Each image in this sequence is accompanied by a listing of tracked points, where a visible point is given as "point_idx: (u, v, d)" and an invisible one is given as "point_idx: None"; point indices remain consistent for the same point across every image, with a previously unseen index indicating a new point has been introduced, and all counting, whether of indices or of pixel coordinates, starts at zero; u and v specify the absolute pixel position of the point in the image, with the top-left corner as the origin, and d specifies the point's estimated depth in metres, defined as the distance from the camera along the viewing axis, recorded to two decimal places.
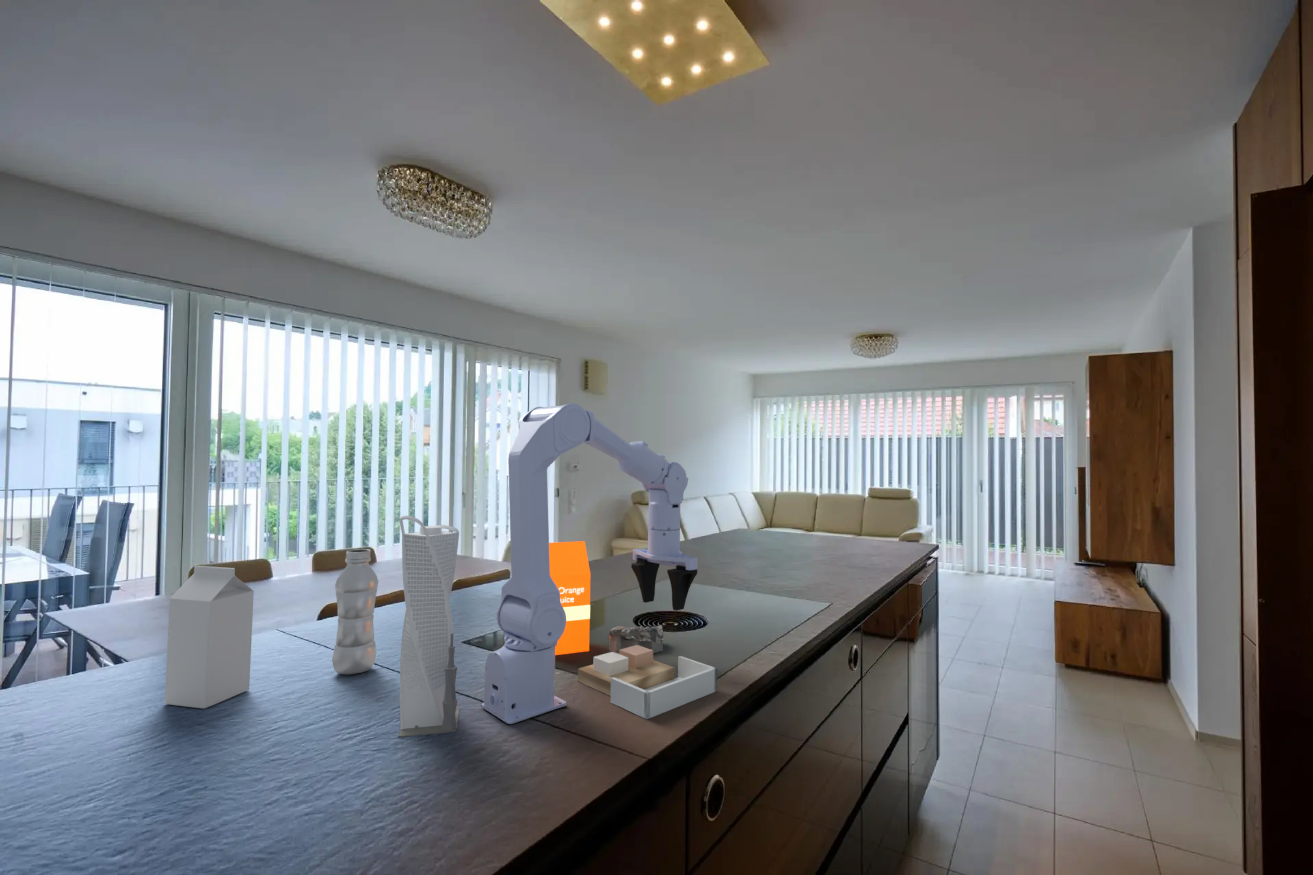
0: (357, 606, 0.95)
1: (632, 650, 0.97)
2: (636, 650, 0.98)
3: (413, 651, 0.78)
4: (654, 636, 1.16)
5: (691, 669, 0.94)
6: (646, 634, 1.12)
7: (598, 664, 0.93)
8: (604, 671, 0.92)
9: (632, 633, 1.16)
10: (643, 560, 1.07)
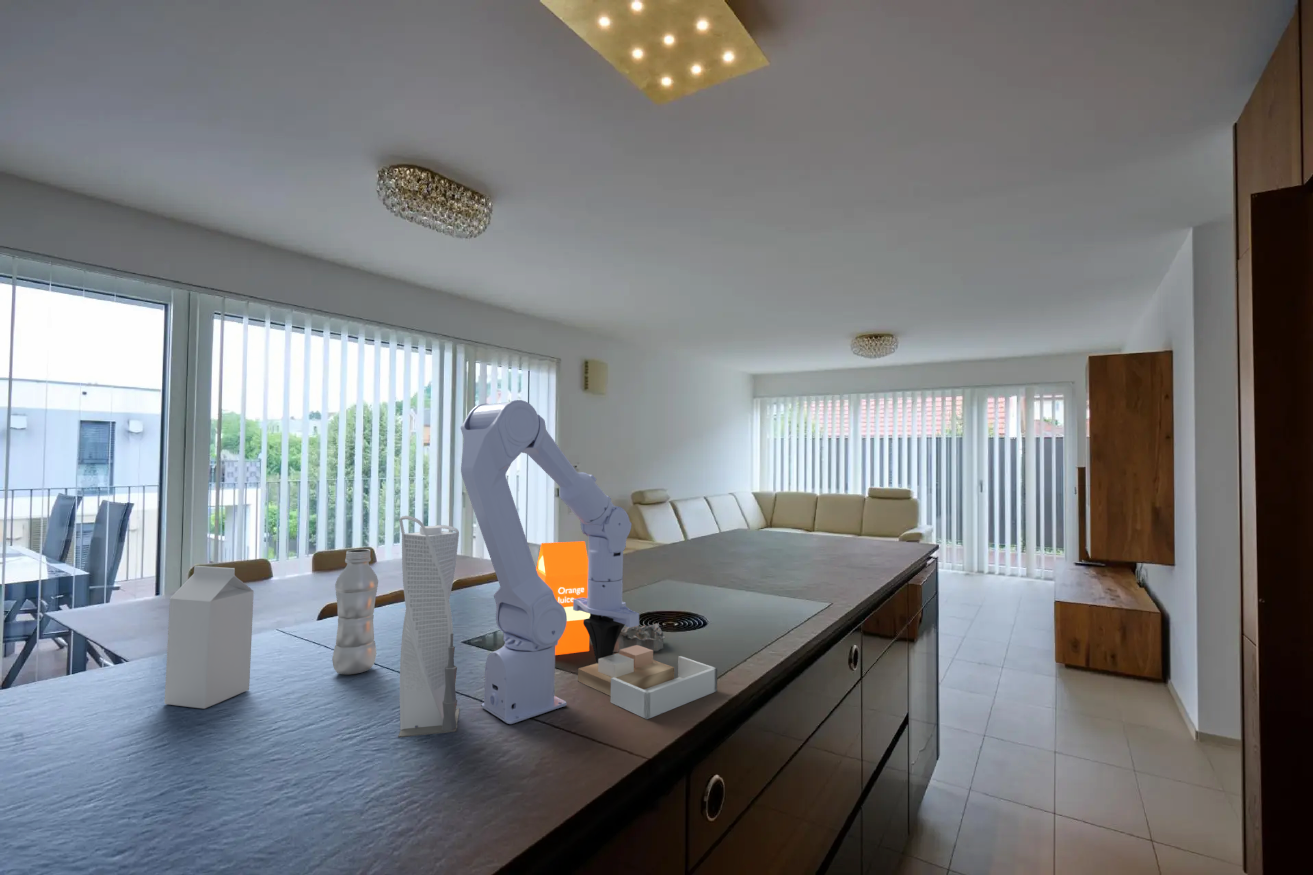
0: (357, 606, 0.95)
1: (632, 650, 0.97)
2: (636, 650, 0.98)
3: (413, 651, 0.78)
4: (650, 634, 1.17)
5: (691, 669, 0.94)
6: (645, 633, 1.13)
7: (603, 666, 0.92)
8: (609, 673, 0.91)
9: (629, 632, 1.16)
10: (583, 611, 0.98)
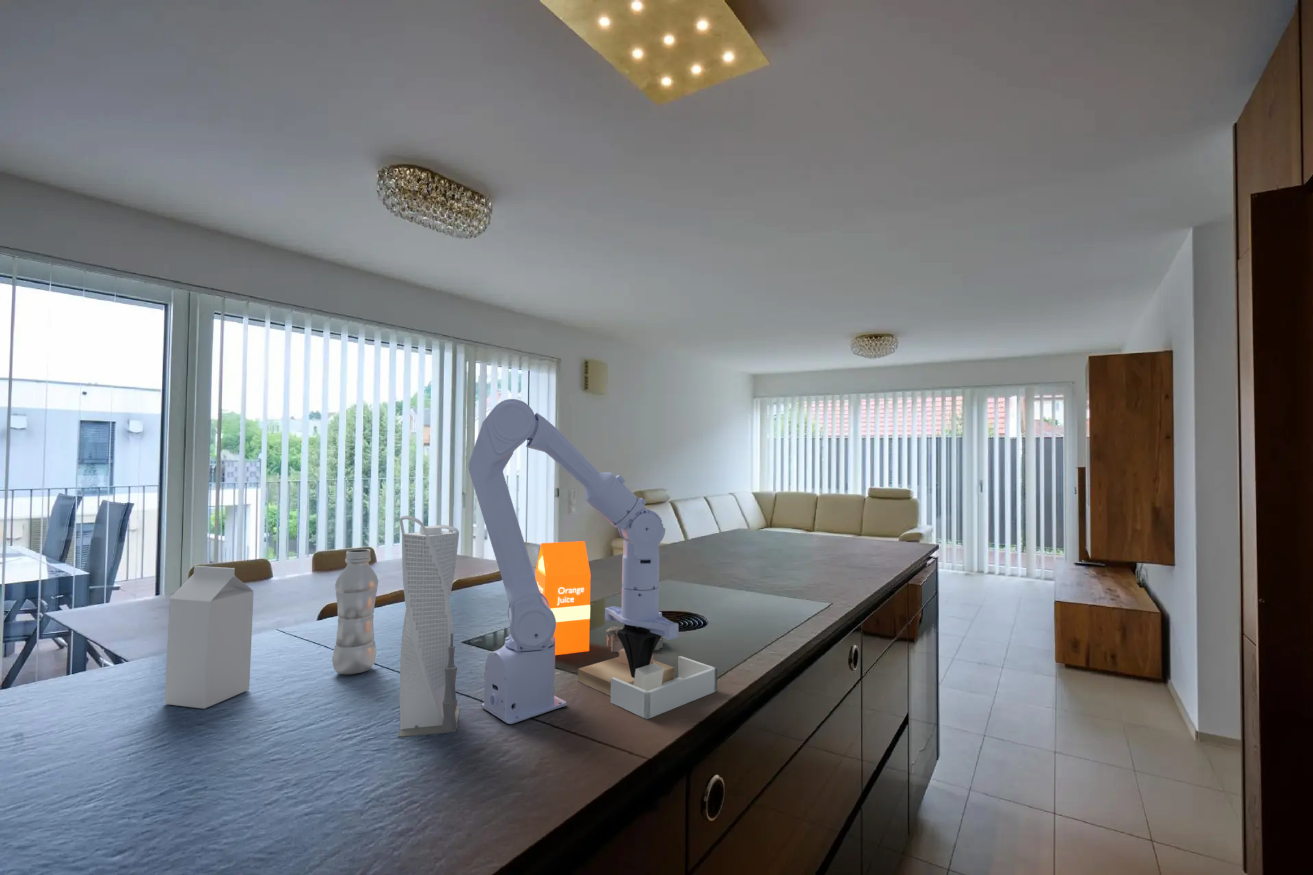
0: (357, 606, 0.95)
1: None
2: None
3: (413, 651, 0.78)
4: None
5: (691, 669, 0.94)
6: None
7: (639, 680, 0.86)
8: None
9: None
10: None
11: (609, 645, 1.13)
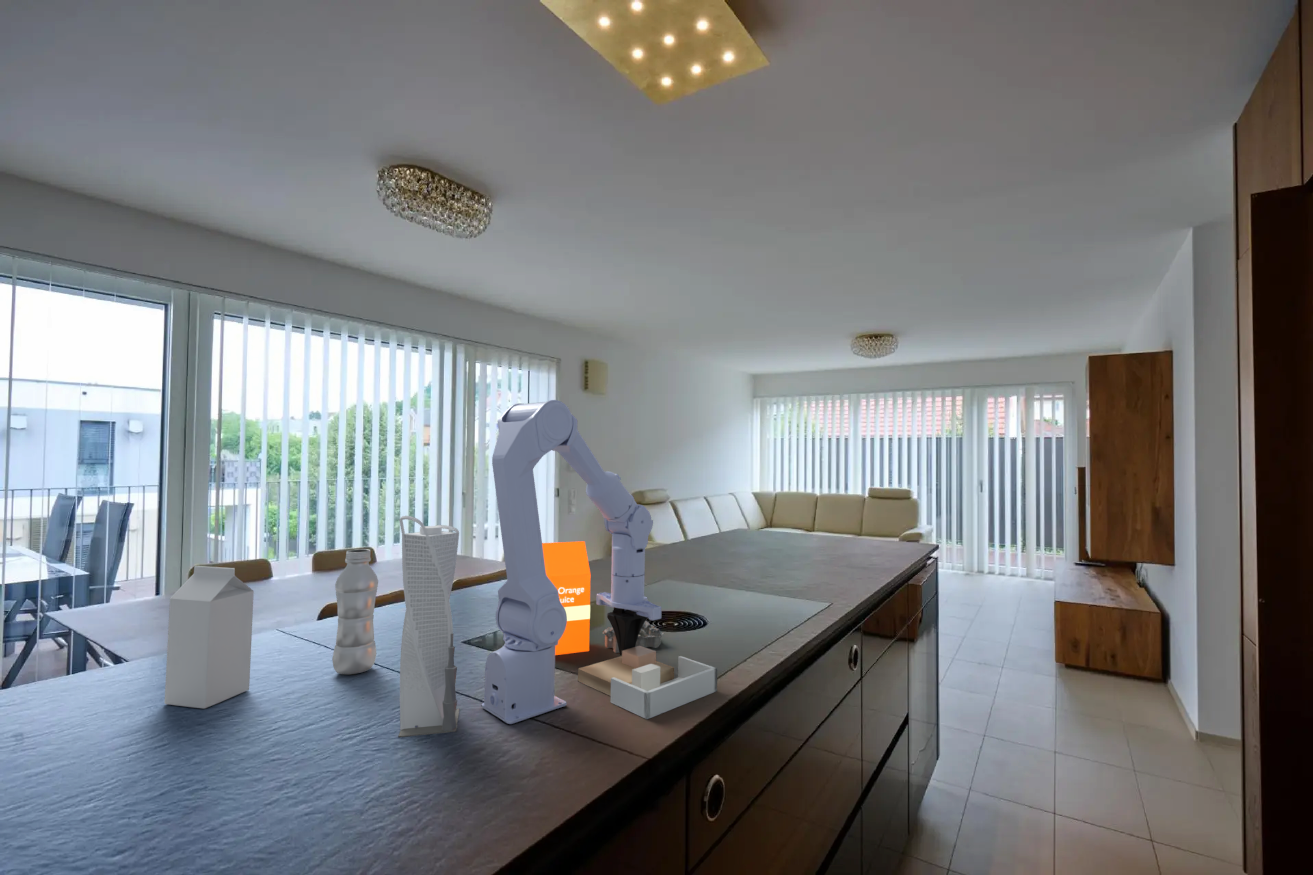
0: (357, 606, 0.95)
1: (635, 651, 0.97)
2: (639, 650, 0.97)
3: (413, 651, 0.78)
4: None
5: (691, 669, 0.94)
6: (643, 631, 1.14)
7: (637, 680, 0.87)
8: None
9: None
10: None
11: (608, 646, 1.12)
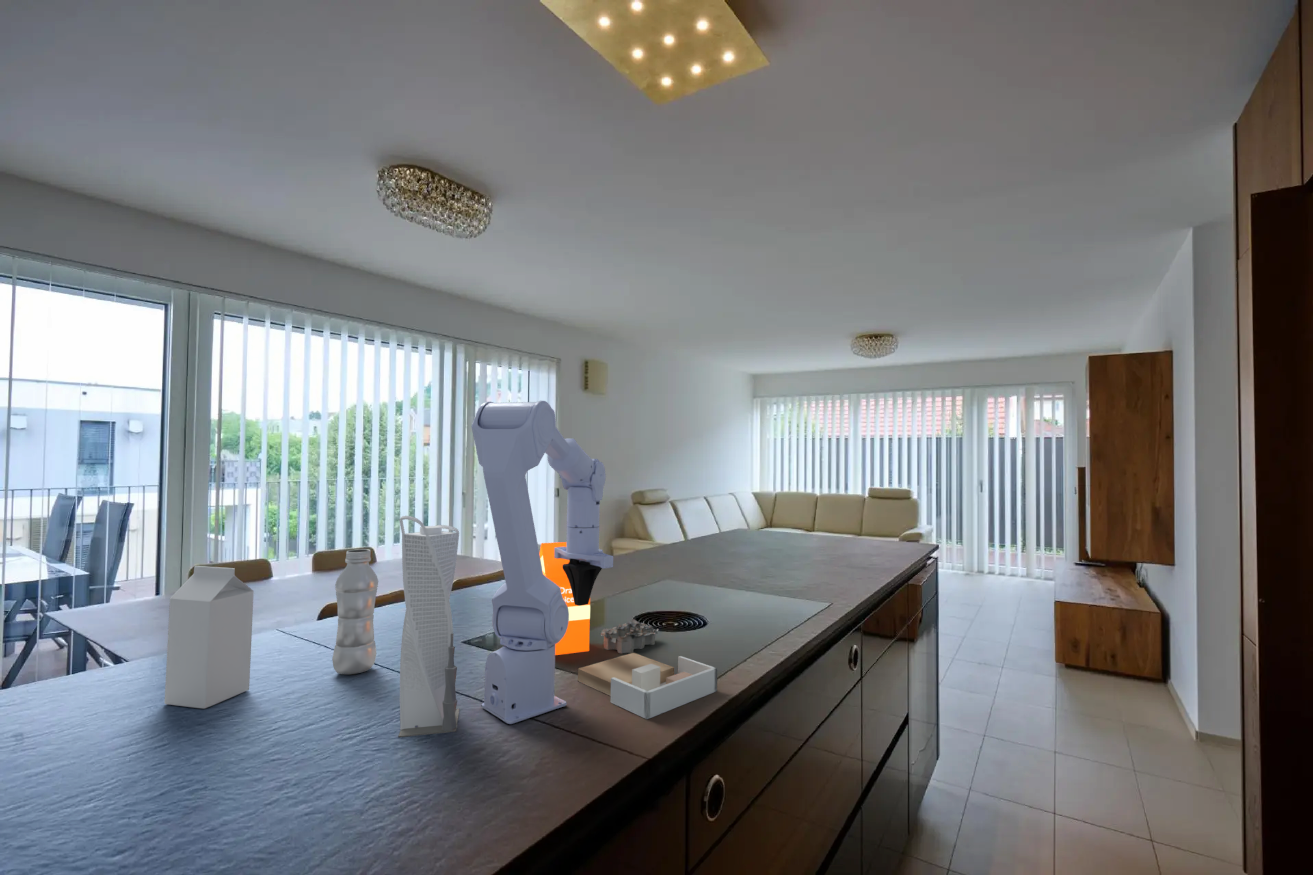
0: (357, 606, 0.95)
1: None
2: None
3: (413, 651, 0.78)
4: (629, 631, 1.19)
5: (691, 669, 0.94)
6: (638, 629, 1.15)
7: (637, 680, 0.87)
8: None
9: None
10: (563, 558, 1.06)
11: (609, 648, 1.11)
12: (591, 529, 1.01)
